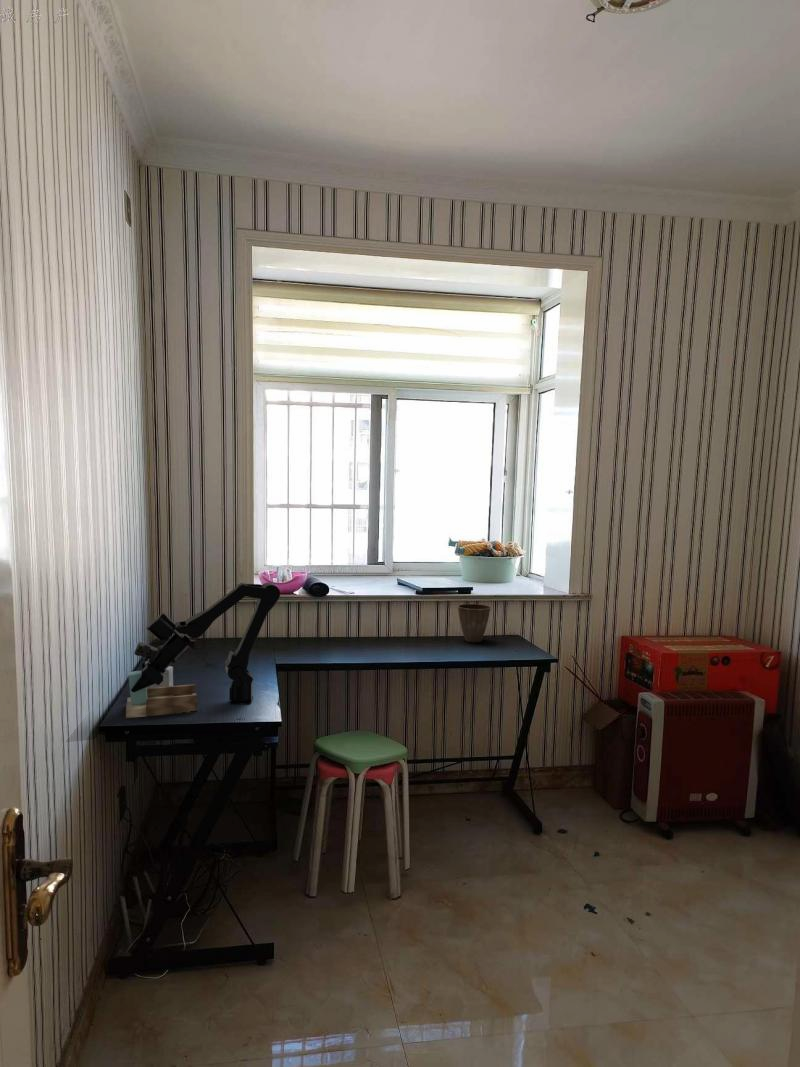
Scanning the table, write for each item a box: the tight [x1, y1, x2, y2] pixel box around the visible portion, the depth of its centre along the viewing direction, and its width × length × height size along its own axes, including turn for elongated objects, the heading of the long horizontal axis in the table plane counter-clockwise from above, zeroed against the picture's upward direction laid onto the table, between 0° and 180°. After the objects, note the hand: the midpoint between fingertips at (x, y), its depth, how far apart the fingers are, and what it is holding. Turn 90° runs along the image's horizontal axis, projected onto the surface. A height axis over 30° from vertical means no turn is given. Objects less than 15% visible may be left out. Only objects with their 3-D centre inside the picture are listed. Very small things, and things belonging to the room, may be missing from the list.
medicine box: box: [146, 665, 174, 688], centre depth 216 cm, size 8×4×9 cm, turn 92°
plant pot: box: [457, 603, 491, 643], centre depth 303 cm, size 15×15×16 cm
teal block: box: [128, 669, 147, 705], centre depth 199 cm, size 4×4×9 cm
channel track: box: [125, 683, 198, 719], centre depth 201 cm, size 20×12×5 cm, turn 110°
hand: (132, 689), depth 198 cm, fingers closed on teal block, 4 cm apart
